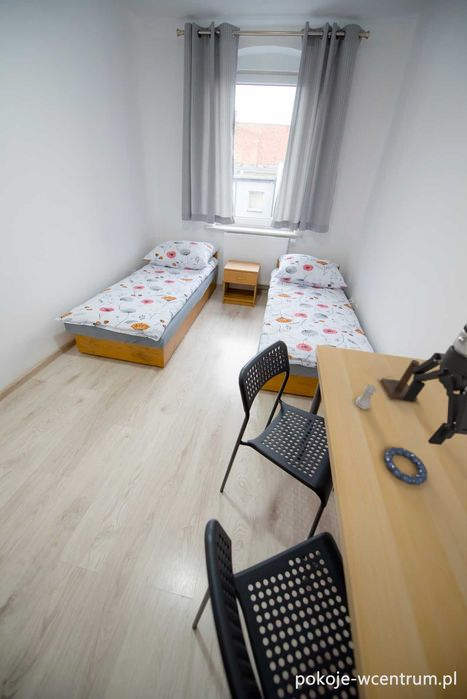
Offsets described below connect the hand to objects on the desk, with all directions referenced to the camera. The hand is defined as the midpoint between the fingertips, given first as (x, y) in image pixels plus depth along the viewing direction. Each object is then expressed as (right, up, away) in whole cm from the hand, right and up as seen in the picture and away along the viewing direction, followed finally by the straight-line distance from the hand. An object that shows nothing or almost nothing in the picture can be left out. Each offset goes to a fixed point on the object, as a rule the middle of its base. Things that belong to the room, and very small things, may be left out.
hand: (419, 420), depth 70 cm
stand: (+12, +3, +30) cm, 32 cm away
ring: (-1, -13, +4) cm, 14 cm away
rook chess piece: (-4, -1, +22) cm, 23 cm away
